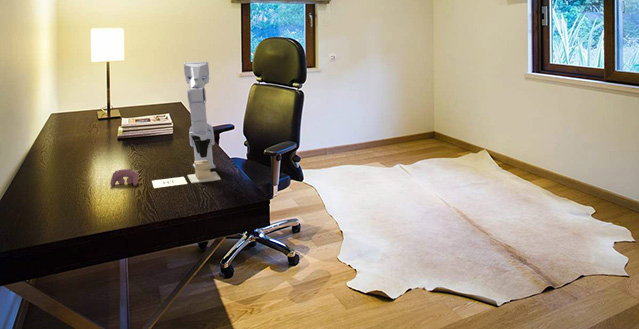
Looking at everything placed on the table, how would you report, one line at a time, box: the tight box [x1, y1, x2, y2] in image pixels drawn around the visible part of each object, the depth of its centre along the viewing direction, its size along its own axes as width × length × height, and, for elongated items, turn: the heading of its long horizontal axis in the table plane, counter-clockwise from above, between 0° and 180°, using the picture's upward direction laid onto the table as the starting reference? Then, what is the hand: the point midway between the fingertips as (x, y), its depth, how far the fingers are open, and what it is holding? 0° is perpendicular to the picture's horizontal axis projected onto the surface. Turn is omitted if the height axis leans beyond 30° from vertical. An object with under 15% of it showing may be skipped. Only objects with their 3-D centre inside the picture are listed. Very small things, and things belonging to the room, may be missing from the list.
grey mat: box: [186, 171, 222, 184], centre depth 195 cm, size 11×11×1 cm
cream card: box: [151, 176, 188, 189], centre depth 191 cm, size 10×12×1 cm
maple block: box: [193, 160, 211, 179], centre depth 194 cm, size 5×5×6 cm
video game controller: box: [109, 168, 140, 188], centre depth 189 cm, size 10×5×7 cm, turn 93°
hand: (201, 155), depth 193 cm, fingers open, 7 cm apart
